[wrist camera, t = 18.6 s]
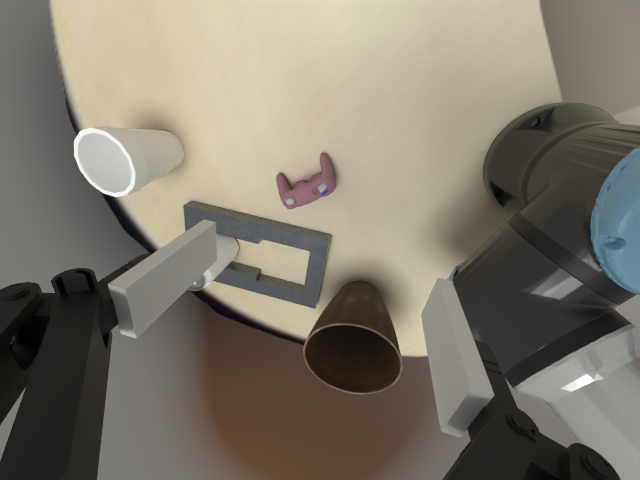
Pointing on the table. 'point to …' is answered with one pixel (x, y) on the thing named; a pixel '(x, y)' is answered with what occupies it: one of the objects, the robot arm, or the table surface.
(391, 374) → the plant pot
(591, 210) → the robot arm
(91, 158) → the foam cup
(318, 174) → the video game controller
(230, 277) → the keyhole plate
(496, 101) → the table surface
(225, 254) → the can
